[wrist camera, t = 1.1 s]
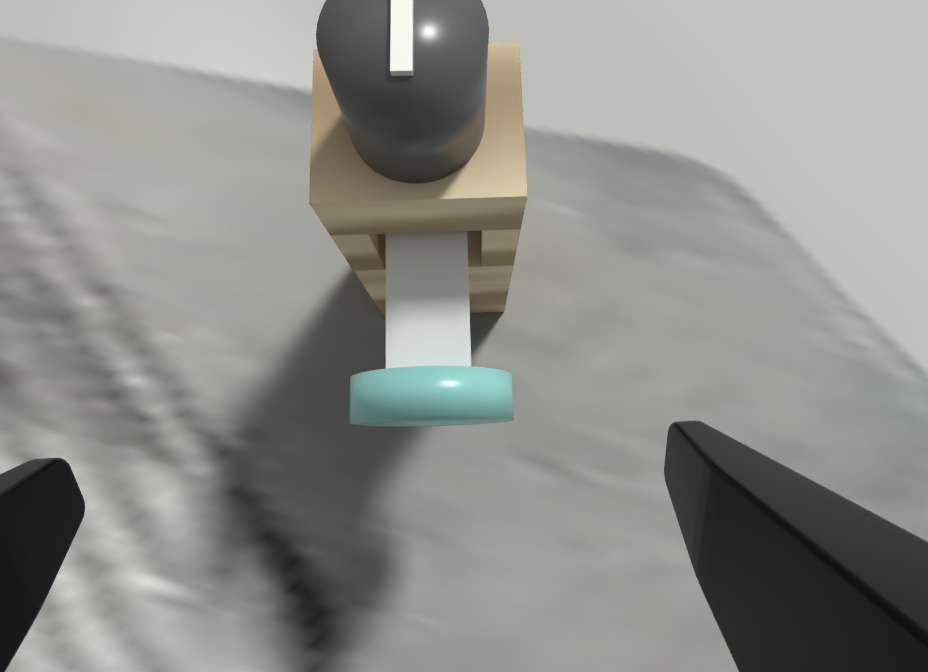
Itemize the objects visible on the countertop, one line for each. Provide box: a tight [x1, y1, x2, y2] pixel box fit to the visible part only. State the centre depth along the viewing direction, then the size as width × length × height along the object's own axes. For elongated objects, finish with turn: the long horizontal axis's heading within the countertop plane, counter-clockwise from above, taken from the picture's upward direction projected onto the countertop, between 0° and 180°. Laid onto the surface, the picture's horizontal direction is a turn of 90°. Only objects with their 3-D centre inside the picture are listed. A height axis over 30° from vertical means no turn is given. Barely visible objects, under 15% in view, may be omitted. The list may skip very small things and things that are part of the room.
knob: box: [350, 231, 514, 426], centre depth 16 cm, size 6×4×4 cm
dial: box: [316, 0, 489, 184], centre depth 12 cm, size 3×3×3 cm
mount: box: [309, 42, 527, 315], centre depth 19 cm, size 4×5×11 cm
